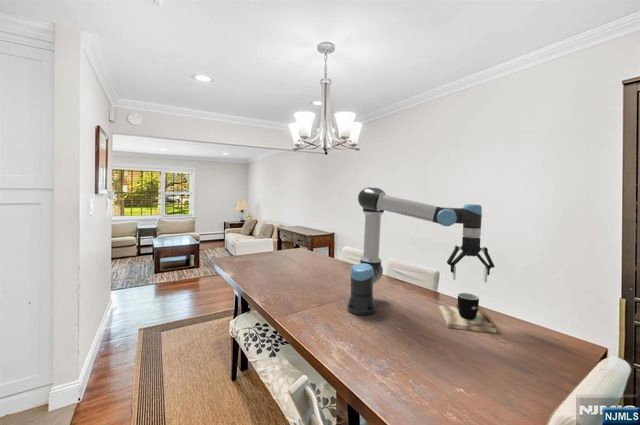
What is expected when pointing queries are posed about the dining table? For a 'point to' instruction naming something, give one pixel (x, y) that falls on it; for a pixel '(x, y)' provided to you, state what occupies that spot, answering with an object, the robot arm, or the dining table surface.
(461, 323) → the board
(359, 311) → the robot arm
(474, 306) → the mug
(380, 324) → the dining table surface
